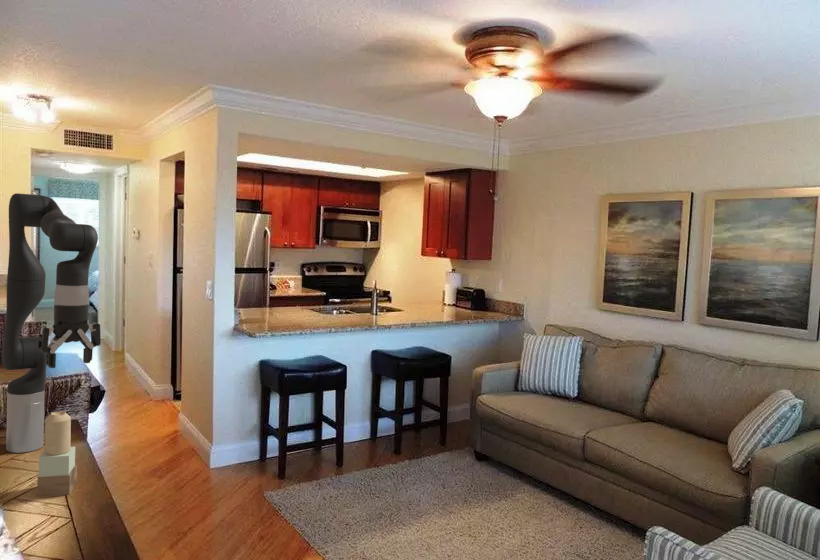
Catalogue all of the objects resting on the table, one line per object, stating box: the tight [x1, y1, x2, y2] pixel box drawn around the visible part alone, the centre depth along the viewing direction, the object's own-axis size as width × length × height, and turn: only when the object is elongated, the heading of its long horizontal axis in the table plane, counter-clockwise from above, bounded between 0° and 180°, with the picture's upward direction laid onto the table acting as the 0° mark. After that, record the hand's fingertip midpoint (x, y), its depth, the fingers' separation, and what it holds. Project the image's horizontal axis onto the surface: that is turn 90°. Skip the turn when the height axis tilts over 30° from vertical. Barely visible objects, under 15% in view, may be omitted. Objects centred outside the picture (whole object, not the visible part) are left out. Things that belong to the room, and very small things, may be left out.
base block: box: [36, 464, 78, 498], centre depth 145 cm, size 7×7×5 cm
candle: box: [44, 410, 72, 455], centre depth 144 cm, size 6×6×10 cm
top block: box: [38, 446, 76, 477], centre depth 144 cm, size 6×6×5 cm
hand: (69, 365), depth 146 cm, fingers open, 8 cm apart
